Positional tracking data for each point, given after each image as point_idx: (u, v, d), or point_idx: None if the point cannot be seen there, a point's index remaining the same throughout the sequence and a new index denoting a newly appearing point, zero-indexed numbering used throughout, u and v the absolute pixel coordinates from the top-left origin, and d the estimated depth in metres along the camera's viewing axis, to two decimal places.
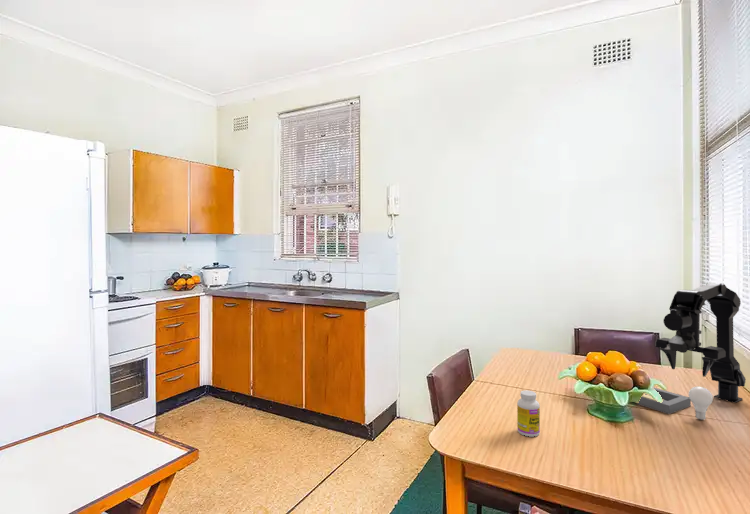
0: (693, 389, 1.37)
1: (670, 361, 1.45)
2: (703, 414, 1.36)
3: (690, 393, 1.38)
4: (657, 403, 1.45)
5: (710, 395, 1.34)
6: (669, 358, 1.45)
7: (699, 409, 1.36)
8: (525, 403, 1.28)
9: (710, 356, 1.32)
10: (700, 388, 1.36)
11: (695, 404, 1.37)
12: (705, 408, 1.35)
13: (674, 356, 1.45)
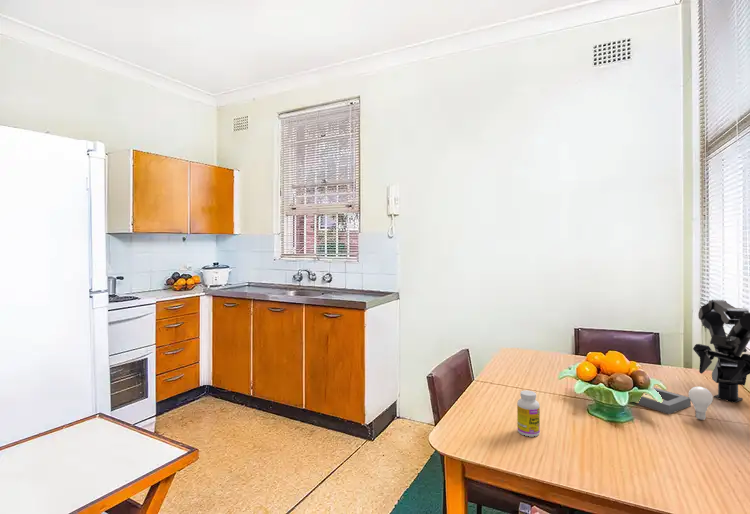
0: (693, 389, 1.37)
1: (701, 364, 1.45)
2: (703, 414, 1.36)
3: (690, 393, 1.38)
4: (657, 403, 1.45)
5: (710, 395, 1.34)
6: (701, 361, 1.45)
7: (699, 409, 1.36)
8: (525, 403, 1.28)
9: (748, 359, 1.33)
10: (700, 388, 1.36)
11: (695, 404, 1.37)
12: (705, 408, 1.35)
13: (707, 364, 1.45)
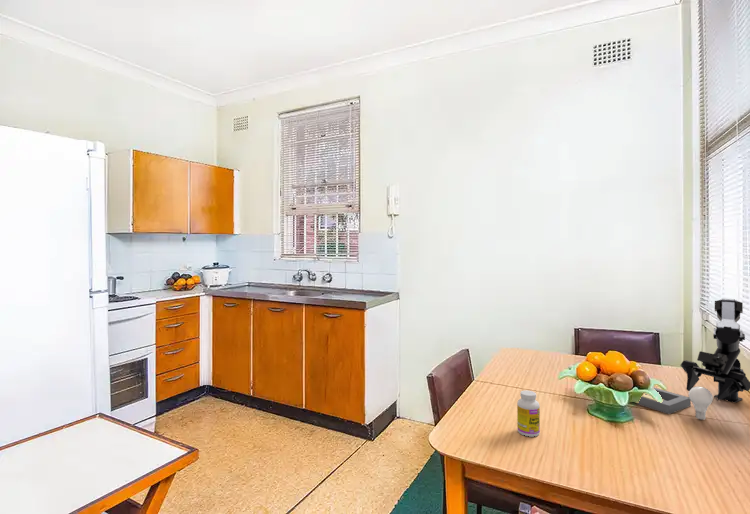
0: (693, 389, 1.37)
1: (688, 381, 1.42)
2: (703, 414, 1.36)
3: (690, 393, 1.38)
4: (657, 403, 1.45)
5: (710, 395, 1.34)
6: (689, 378, 1.43)
7: (699, 409, 1.36)
8: (525, 403, 1.28)
9: (735, 377, 1.31)
10: (700, 388, 1.36)
11: (695, 404, 1.37)
12: (705, 408, 1.35)
13: (694, 381, 1.43)
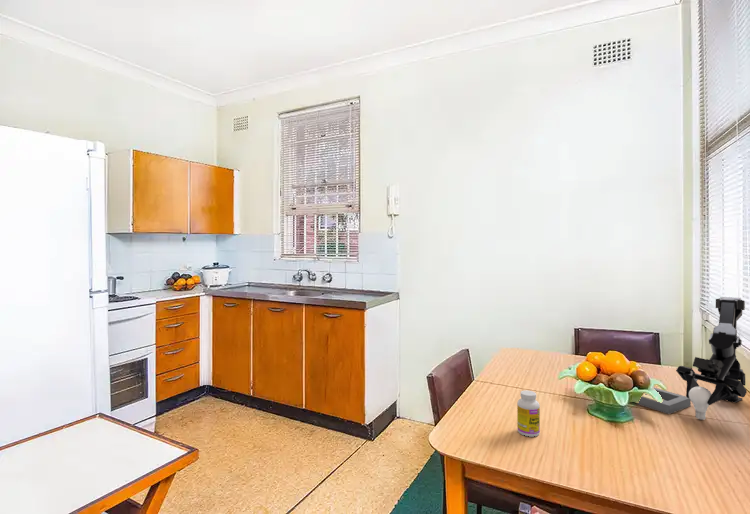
0: (693, 389, 1.37)
1: (688, 388, 1.41)
2: (703, 414, 1.36)
3: (690, 393, 1.38)
4: (657, 403, 1.45)
5: (710, 395, 1.34)
6: (688, 385, 1.41)
7: (699, 409, 1.36)
8: (525, 403, 1.28)
9: (730, 383, 1.30)
10: (700, 388, 1.36)
11: (695, 404, 1.37)
12: (705, 408, 1.35)
13: None
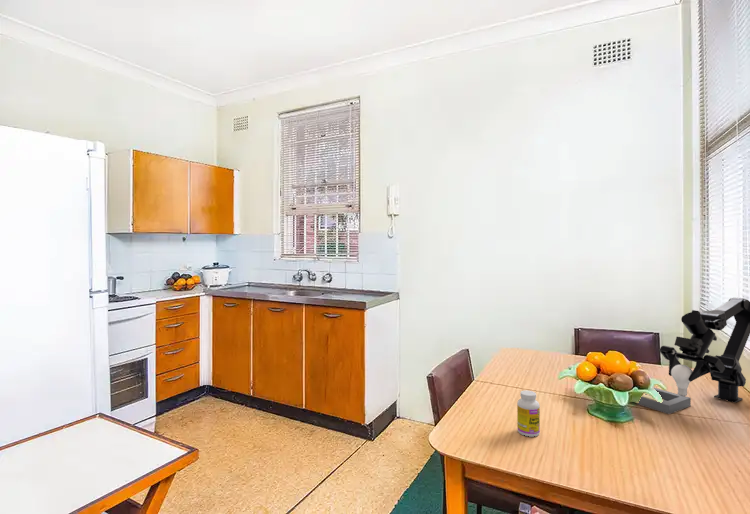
0: (675, 367, 1.44)
1: (670, 366, 1.47)
2: (685, 390, 1.42)
3: (672, 371, 1.44)
4: (657, 403, 1.45)
5: (691, 372, 1.41)
6: (671, 363, 1.47)
7: (681, 386, 1.42)
8: (525, 403, 1.28)
9: (709, 360, 1.37)
10: (682, 366, 1.43)
11: (677, 381, 1.43)
12: (686, 385, 1.42)
13: None
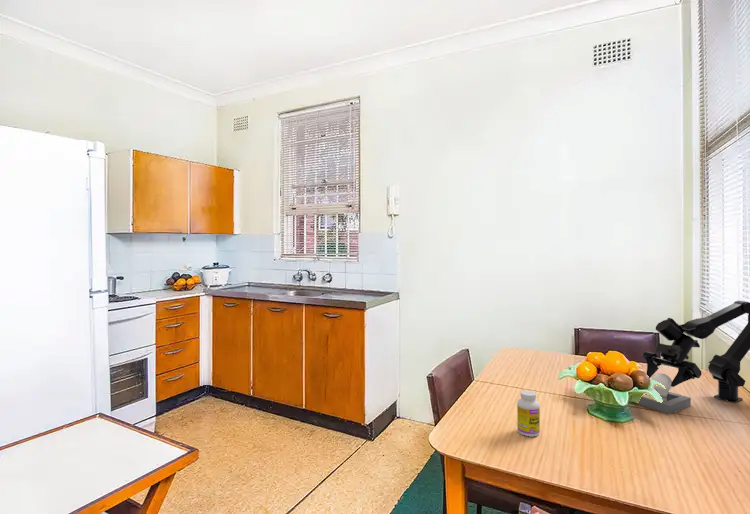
0: (655, 376, 1.52)
1: (648, 370, 1.56)
2: (664, 398, 1.50)
3: (652, 379, 1.52)
4: (657, 403, 1.45)
5: (669, 381, 1.49)
6: (648, 368, 1.56)
7: (660, 394, 1.50)
8: (525, 403, 1.28)
9: (687, 365, 1.45)
10: (661, 375, 1.50)
11: (657, 389, 1.51)
12: (666, 392, 1.50)
13: (653, 370, 1.57)
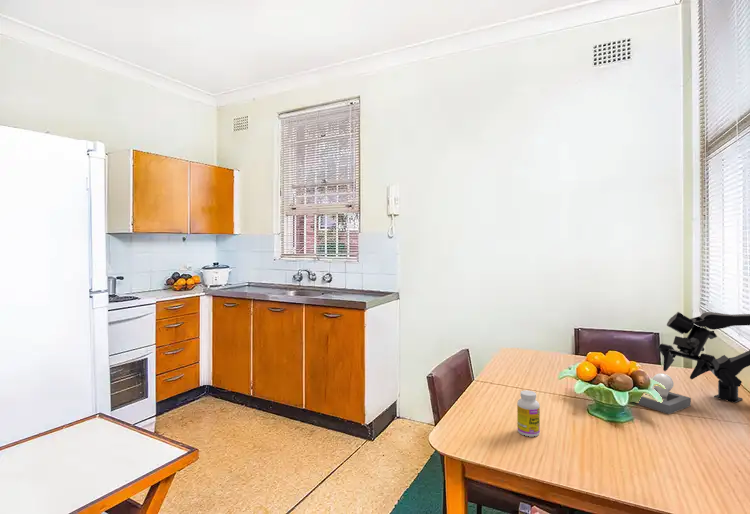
0: (656, 376, 1.51)
1: (665, 362, 1.58)
2: (665, 398, 1.50)
3: (653, 379, 1.52)
4: (657, 403, 1.45)
5: (671, 381, 1.49)
6: (665, 360, 1.59)
7: (661, 394, 1.50)
8: (525, 403, 1.28)
9: (706, 358, 1.47)
10: (662, 375, 1.50)
11: (658, 389, 1.51)
12: (666, 393, 1.50)
13: (669, 362, 1.59)
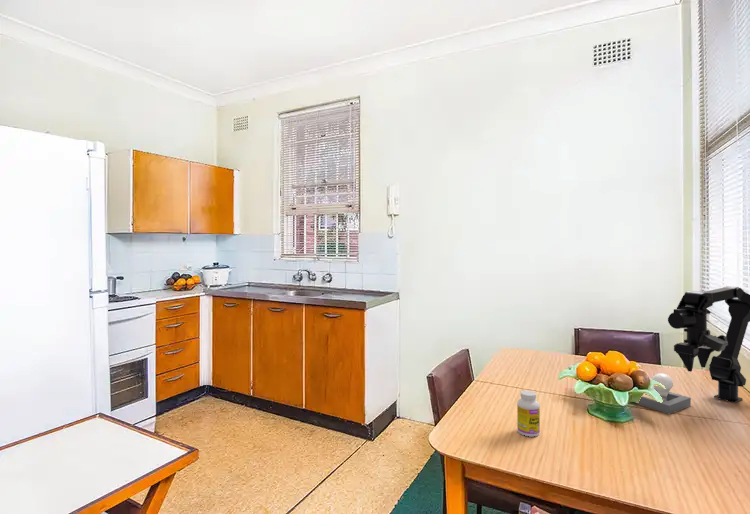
0: (656, 376, 1.52)
1: (692, 364, 1.46)
2: (664, 398, 1.50)
3: (653, 379, 1.52)
4: (657, 403, 1.45)
5: (670, 381, 1.49)
6: (692, 361, 1.45)
7: (661, 394, 1.50)
8: (525, 403, 1.28)
9: None
10: (662, 375, 1.50)
11: (657, 389, 1.51)
12: (666, 393, 1.50)
13: None
